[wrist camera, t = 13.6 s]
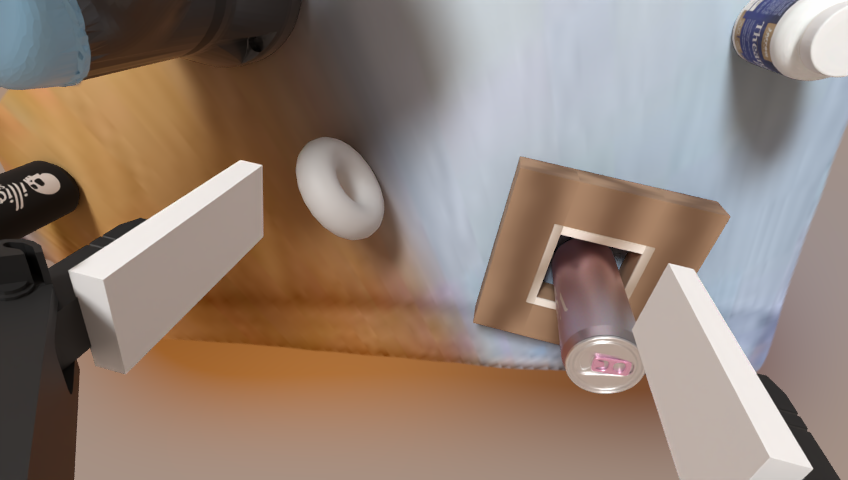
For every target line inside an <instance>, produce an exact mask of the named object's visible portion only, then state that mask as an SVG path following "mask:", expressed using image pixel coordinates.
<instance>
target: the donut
mask: <svg viewBox="0 0 848 480" xmlns="http://www.w3.org/2000/svg"><path fill="white" fill-rule="evenodd" d="M296 177H297V183H298V188H299V191H300V193H301V195H302V198H303V200H304V203H305V204H306V206H307V207H308V209H309V210H310V212H311V213H312V215H313V216H314V217H315V218H316V219H317V220H318V221H319V222H320V224H321V225H322V226H323V227H324V228H326V229H327V230H329V231H330V232H332V233H333V234H335V235H337V236H339V237H342V238H345V239H349V240H359V239H364V238H367V237H369V236H371V235H372V234H373V233H374V232H375V231H376V230H377V229H378V228H379V227H380V225H381V222H382V219H383V216H384V199H383V195H382V191H381V188H380V186H379V183H378V181H377V179H376V176H375V175H374V173H373V171H372V170H371V168H370V167H369V165H368V164H367V163H366V161H365V160H364V159H363V158H362V156H361V155H360V154H359V153H358V152H357V151H356V150H354V149H353V148H352V147H351V146H350V145H348V144H346V143H344V142H343V141H341V140H338V139H335V138H330V137H320V138H317V139H315V140H312V141H310V142H308V143H307V144H306V145H305V146H304V148H303V149H302V150H301V152H300V153H299V155H298V158H297V165H296ZM340 184H341V185H340ZM341 186H342V187H343V188H342V187H341ZM343 189H344V190H343ZM344 191H345V192H344Z"/></svg>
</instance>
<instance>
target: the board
mask: <svg viewBox="0 0 848 480" xmlns="http://www.w3.org/2000/svg"><path fill="white" fill-rule="evenodd" d="M729 218H730V215H729V214H728V213H727V212H726V211H725V210H724V209H723V208H722V206H721V205H720V204H719V203H718V202H716V201H712V200H707V199H703V198H699V197H694V196H690V195H686V194H681V193H677V192H673V191H668V190H664V189H660V188H655V187H651V186H647V185H642V184H638V183H634V182H629V181H625V180H621V179H616V178H612V177H608V176H603V175H599V174H594V173H590V172H586V171H581V170H577V169H573V168H568V167H564V166H560V165H555V164H551V163H547V162H542V161H538V160H534V159H529V158H525V157H521V156H520V159H519V162H518V165H517V169H516V172H515V175H514V179H513V182H512V185H511V189H510V192H509V195H508V199H507V202H506V206H505V209H504V212H503V216H502V219H501V222H500V226H499V229H498V232H497V236H496V239H495V242H494V246H493V249H492V252H491V256H490V259H489V262H488V266H487V269H486V272H485V276H484V279H483V282H482V286H481V289H480V292H479V296H478V299H477V302H476V306H475V313H474V320H473V323H476V324H480V325H484V326H488V327H492V328H496V329H500V330H504V331H508V332H511V333H515V334H519V335H523V336H527V337H531V338H535V339H539V340H542V341H546V342H550V343H554V344H558V345H560V339H559V329H558V320H557V311H556V302H555V292H554V285H553V284H549V283H545V282H542V281H543V279H544V276H545V274H546V271H547V268H548V266H549V263H550V261H551V258H552V255H553V253H554V250H555V248H556V245H557V242H558V240H559V237H560V235H565V236H569V237H573V238H577V239H581V240H585V241H590V242H594V243H598V244H602V245H606V246H610V247H614V248H619V249H623V250H627V251H628V253H627V255H626V257H625V259H624V261H623V263H622V265H621V267H620V269H619V273H620V276H621V279H622V282H623V285H624V288H625V291H626V294H627V297H628V300H629V303H630V306H631V309H632V312H633V315H634V318H635V321H637V319H638V318H639V316H640V314H641V312H642V310H643V308H644V307H645V305H646V303H647V301H648V299H649V298H650V296H651V294H652V292H653V290H654V288H655V287H656V285H657V283H658V281H659V279H660V277H661V276H662V274H663V272H664V270H665V268H666V267H667V265H668V263H670V264H674V265H679V266H683V267H687V268H691V269H694V270H695V272H696V274H697V272H698V270H699V269H700V267H701V265H702V264H703V262H704V260H705V259H706V257H707V255H708V254H709V252H710V250H711V249H712V247H713V245H714V244H715V242H716V240H717V239H718V237H719V235H720V234H721V232H722V230H723V229H724V227H725V225H726V224H727V222H728V220H729Z"/></svg>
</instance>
